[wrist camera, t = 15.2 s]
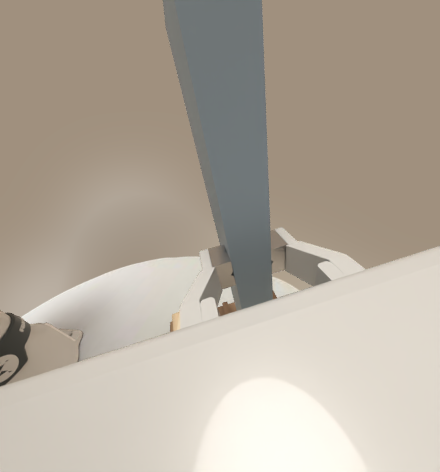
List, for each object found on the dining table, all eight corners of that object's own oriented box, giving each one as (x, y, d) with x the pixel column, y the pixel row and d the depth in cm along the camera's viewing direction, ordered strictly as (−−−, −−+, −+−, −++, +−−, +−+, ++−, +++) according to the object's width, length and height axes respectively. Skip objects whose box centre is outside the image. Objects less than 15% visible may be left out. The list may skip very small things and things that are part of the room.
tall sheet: (254, 365, 16) (152, -99, 3) (237, 314, 20) (165, 27, 7) (275, 358, 16) (257, -116, 3) (254, 309, 20) (212, 17, 7)
